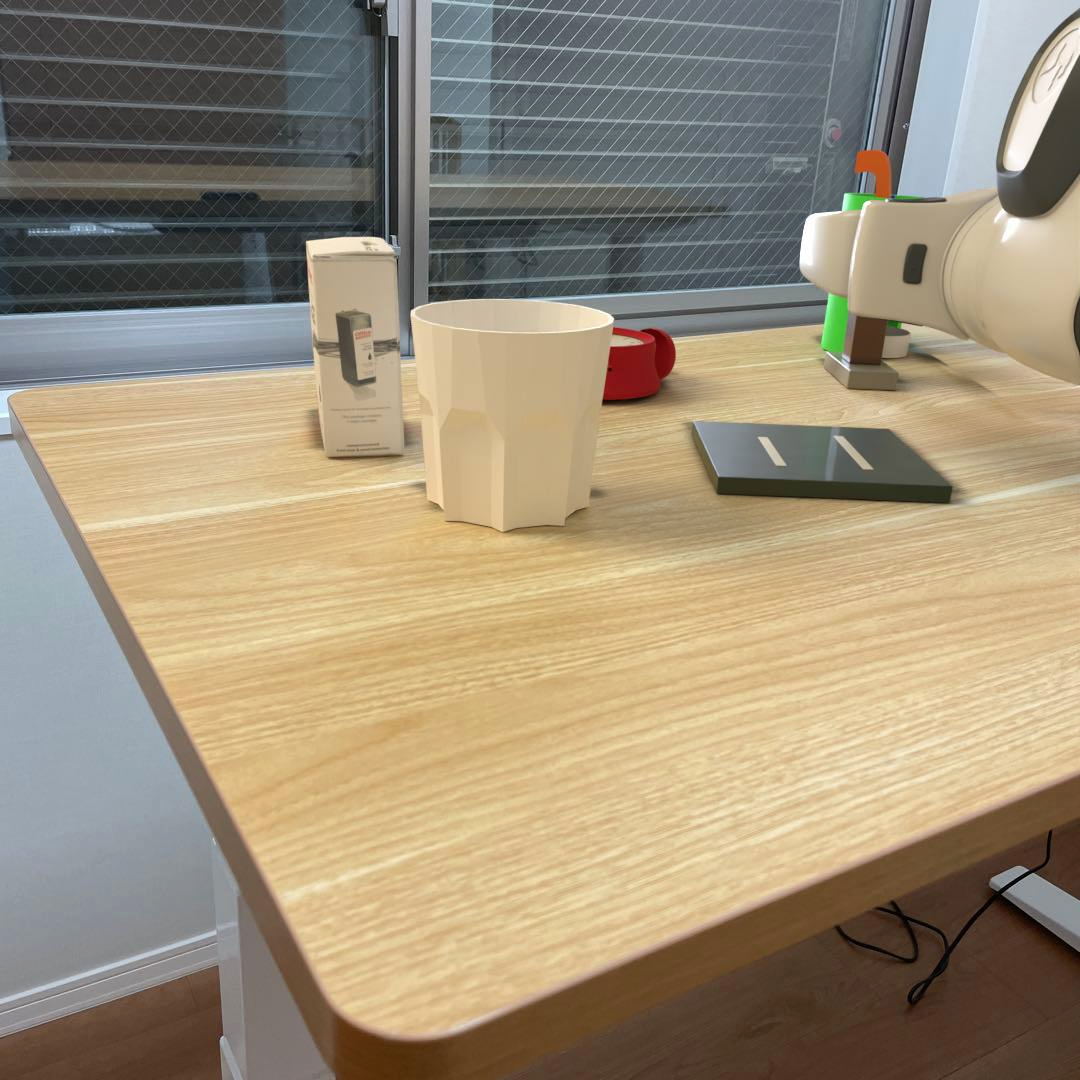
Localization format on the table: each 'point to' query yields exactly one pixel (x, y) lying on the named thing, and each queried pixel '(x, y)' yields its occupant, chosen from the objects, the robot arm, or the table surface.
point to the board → (815, 462)
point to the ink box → (356, 345)
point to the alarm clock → (637, 362)
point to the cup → (510, 407)
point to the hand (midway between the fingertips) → (929, 243)
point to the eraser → (862, 356)
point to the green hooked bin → (838, 306)
